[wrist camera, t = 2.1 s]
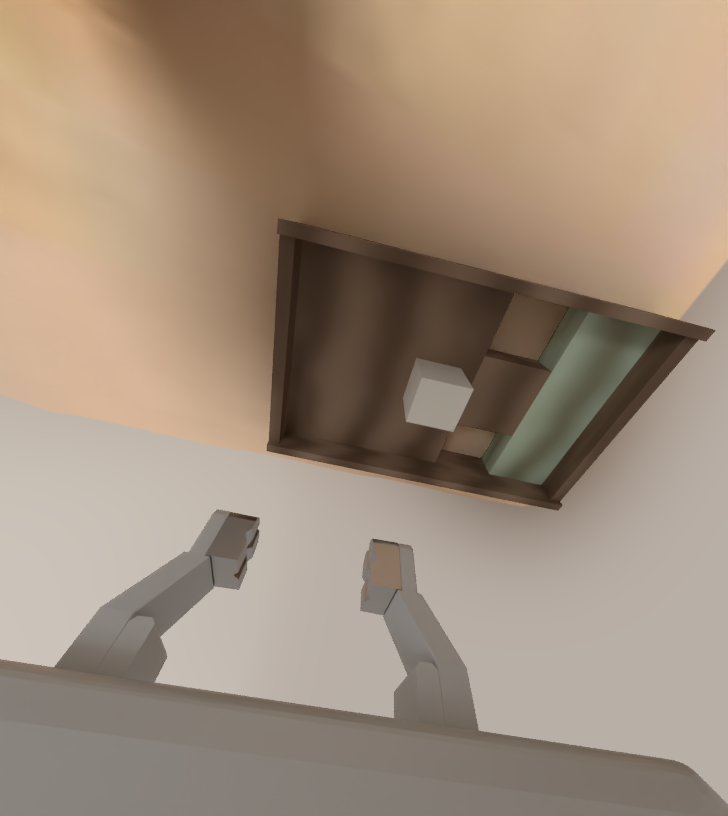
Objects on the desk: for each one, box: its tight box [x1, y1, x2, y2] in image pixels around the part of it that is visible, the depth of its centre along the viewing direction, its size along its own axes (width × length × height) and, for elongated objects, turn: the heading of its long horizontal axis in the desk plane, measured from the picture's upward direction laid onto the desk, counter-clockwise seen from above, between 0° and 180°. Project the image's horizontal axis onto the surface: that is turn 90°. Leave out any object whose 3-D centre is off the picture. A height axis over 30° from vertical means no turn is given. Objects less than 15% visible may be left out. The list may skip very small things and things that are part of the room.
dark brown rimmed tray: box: [267, 219, 715, 510], centre depth 25 cm, size 30×19×5 cm, turn 78°
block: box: [403, 358, 474, 432], centre depth 23 cm, size 4×4×4 cm
